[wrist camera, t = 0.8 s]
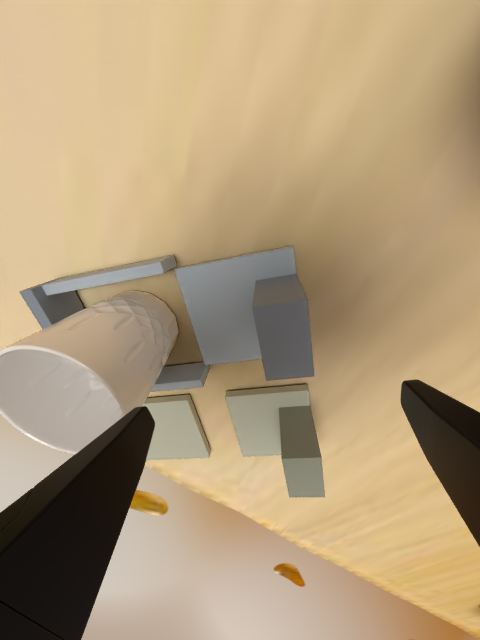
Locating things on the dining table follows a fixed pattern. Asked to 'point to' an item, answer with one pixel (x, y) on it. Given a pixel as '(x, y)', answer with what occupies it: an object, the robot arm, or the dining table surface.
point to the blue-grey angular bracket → (213, 311)
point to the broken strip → (247, 432)
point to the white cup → (86, 370)
